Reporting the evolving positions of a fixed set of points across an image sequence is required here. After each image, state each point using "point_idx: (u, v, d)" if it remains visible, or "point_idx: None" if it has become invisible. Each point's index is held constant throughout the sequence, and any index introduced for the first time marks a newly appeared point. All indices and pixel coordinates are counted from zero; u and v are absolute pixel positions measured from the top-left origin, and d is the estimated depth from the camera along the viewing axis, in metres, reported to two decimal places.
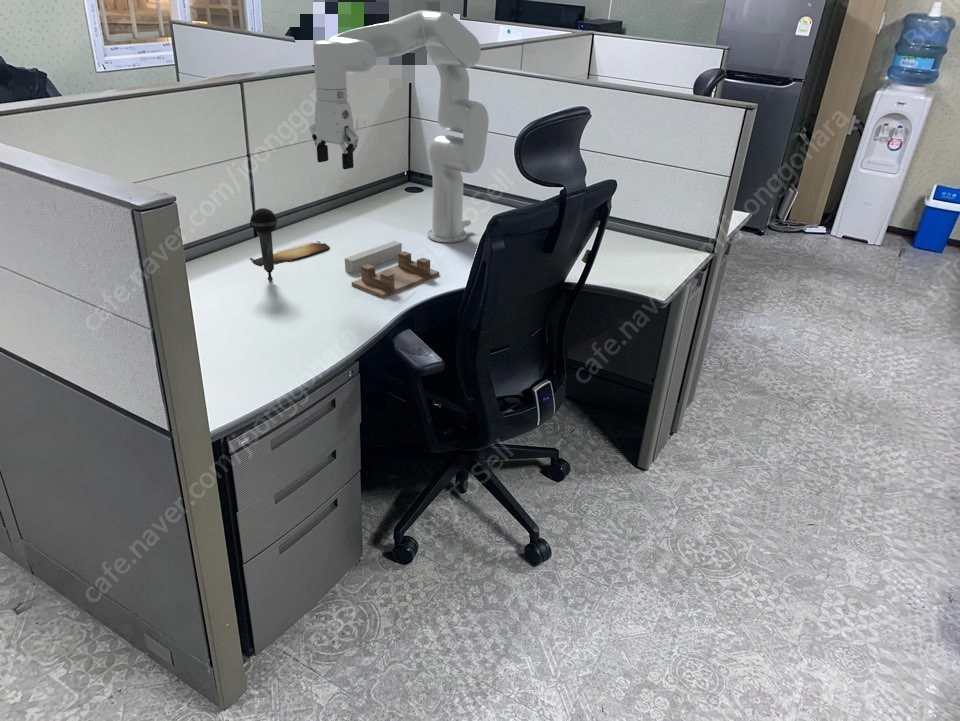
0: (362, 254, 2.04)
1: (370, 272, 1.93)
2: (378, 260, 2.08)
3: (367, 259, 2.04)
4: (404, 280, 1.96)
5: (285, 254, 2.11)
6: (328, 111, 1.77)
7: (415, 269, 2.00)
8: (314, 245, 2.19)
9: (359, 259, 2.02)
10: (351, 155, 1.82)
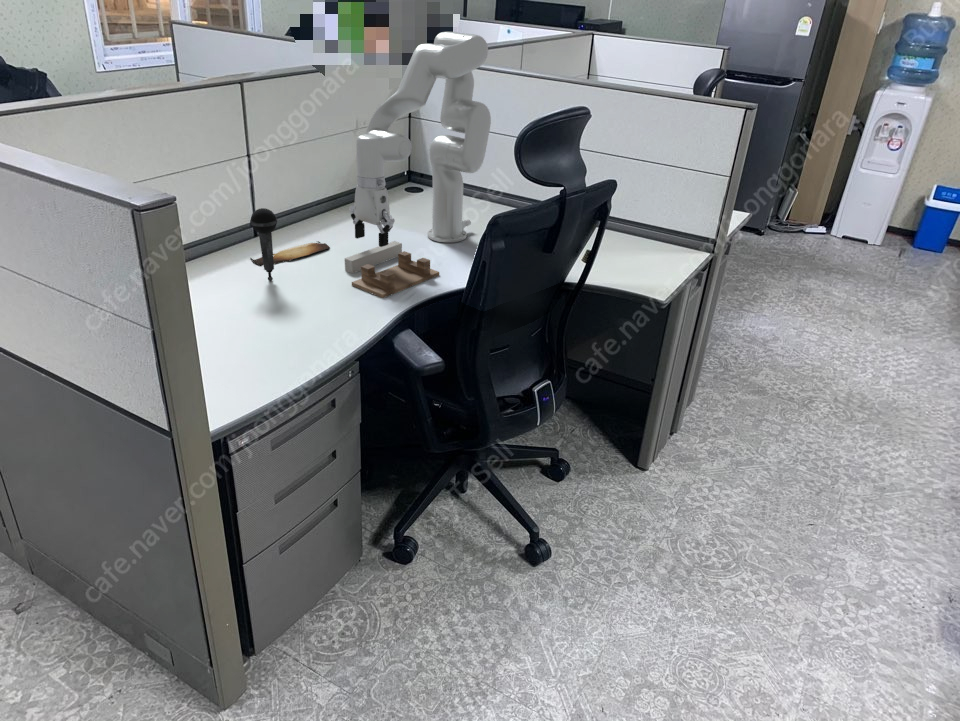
0: (362, 254, 2.04)
1: (370, 272, 1.93)
2: (378, 260, 2.08)
3: (367, 259, 2.04)
4: (404, 280, 1.96)
5: (285, 254, 2.11)
6: (367, 196, 1.97)
7: (415, 269, 2.00)
8: (314, 245, 2.19)
9: (359, 259, 2.02)
10: (387, 234, 2.01)
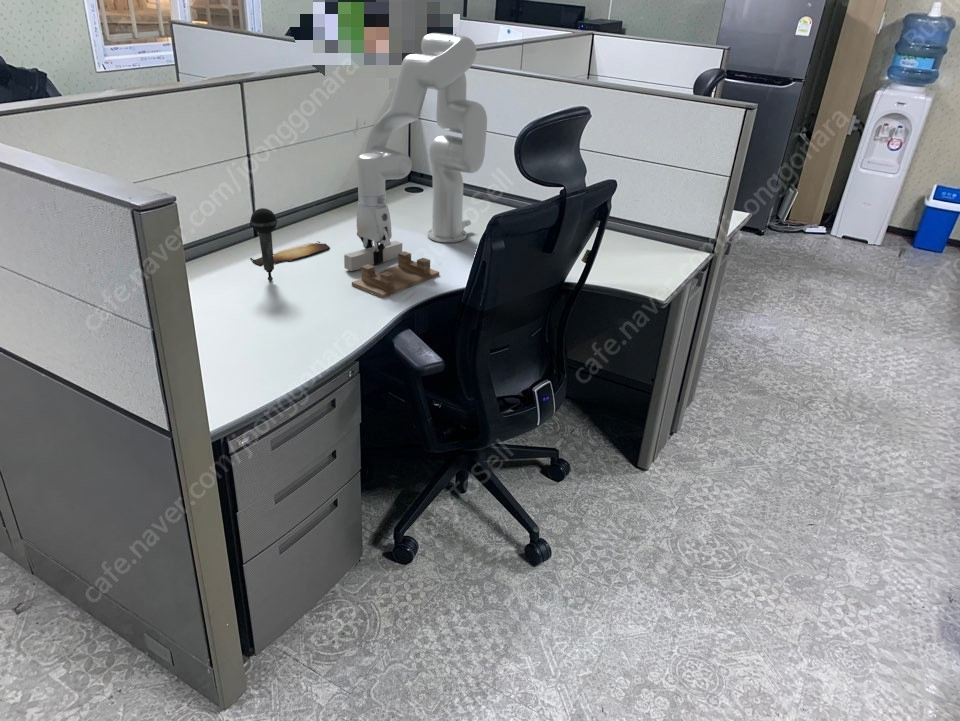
0: (362, 251, 2.04)
1: (370, 272, 1.93)
2: None
3: (367, 256, 2.04)
4: (404, 280, 1.96)
5: (285, 254, 2.11)
6: (369, 214, 2.00)
7: (415, 269, 2.00)
8: (314, 245, 2.19)
9: (359, 256, 2.02)
10: (381, 252, 2.06)
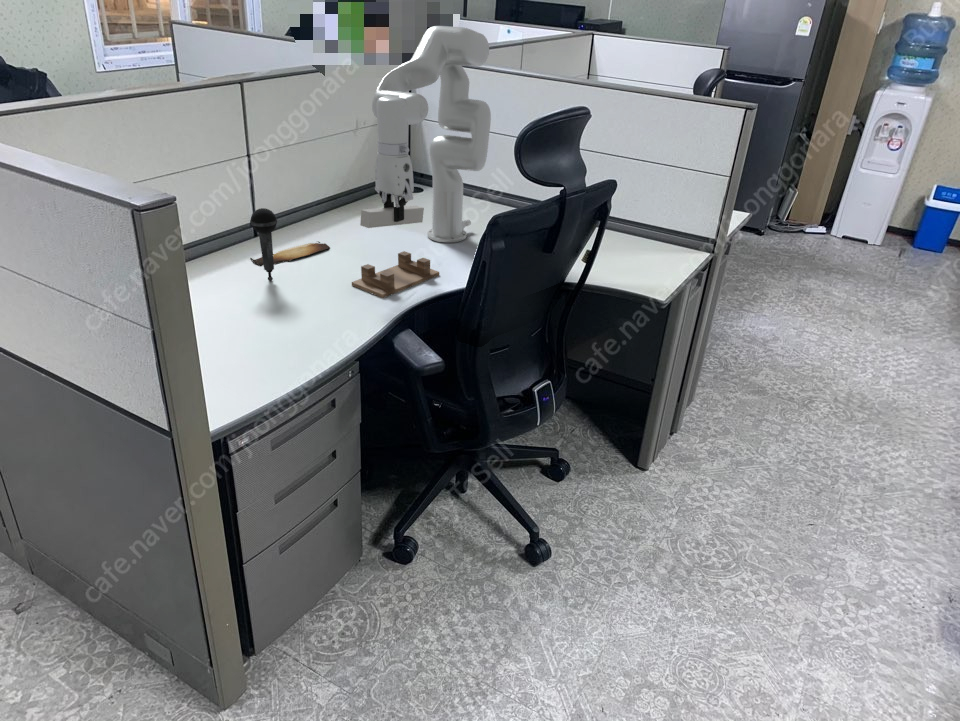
0: (381, 209, 1.86)
1: (370, 272, 1.93)
2: None
3: (386, 215, 1.85)
4: (404, 280, 1.96)
5: (285, 254, 2.11)
6: (389, 164, 1.81)
7: (415, 269, 2.00)
8: (314, 245, 2.19)
9: (377, 213, 1.83)
10: (402, 208, 1.88)
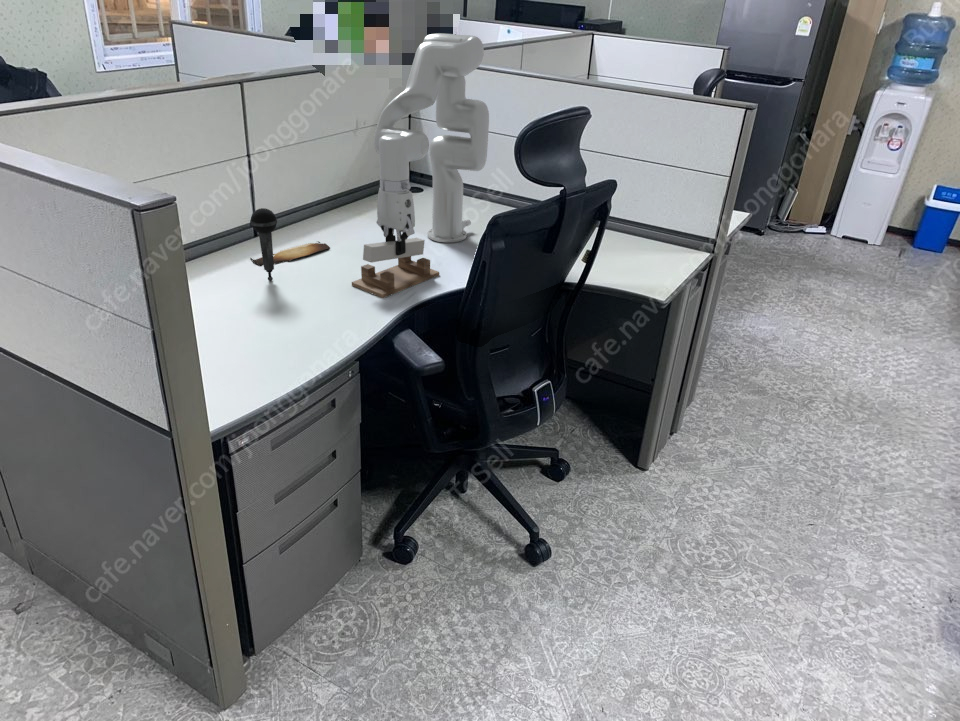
0: (383, 243, 1.90)
1: (370, 272, 1.93)
2: None
3: (388, 249, 1.89)
4: (404, 280, 1.96)
5: (285, 254, 2.11)
6: (391, 200, 1.85)
7: (415, 269, 2.00)
8: (314, 245, 2.19)
9: (380, 248, 1.87)
10: (404, 242, 1.91)
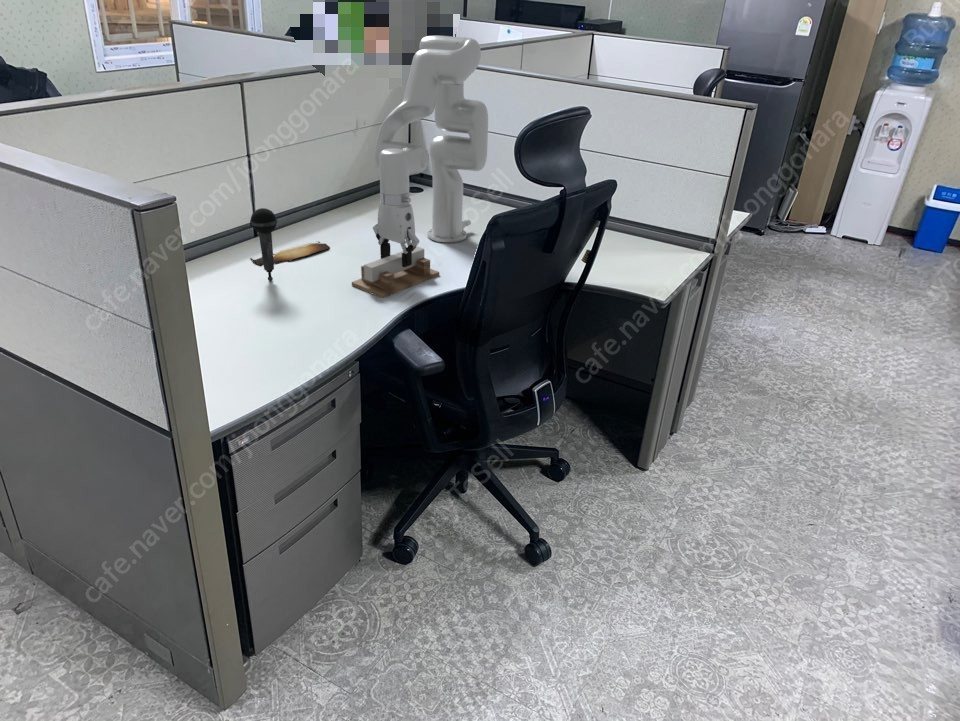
0: (382, 260, 1.92)
1: None
2: (399, 267, 1.95)
3: (388, 265, 1.92)
4: (404, 280, 1.96)
5: (285, 254, 2.11)
6: (392, 214, 1.86)
7: (415, 269, 2.00)
8: (314, 245, 2.19)
9: (379, 266, 1.89)
10: (410, 254, 1.92)
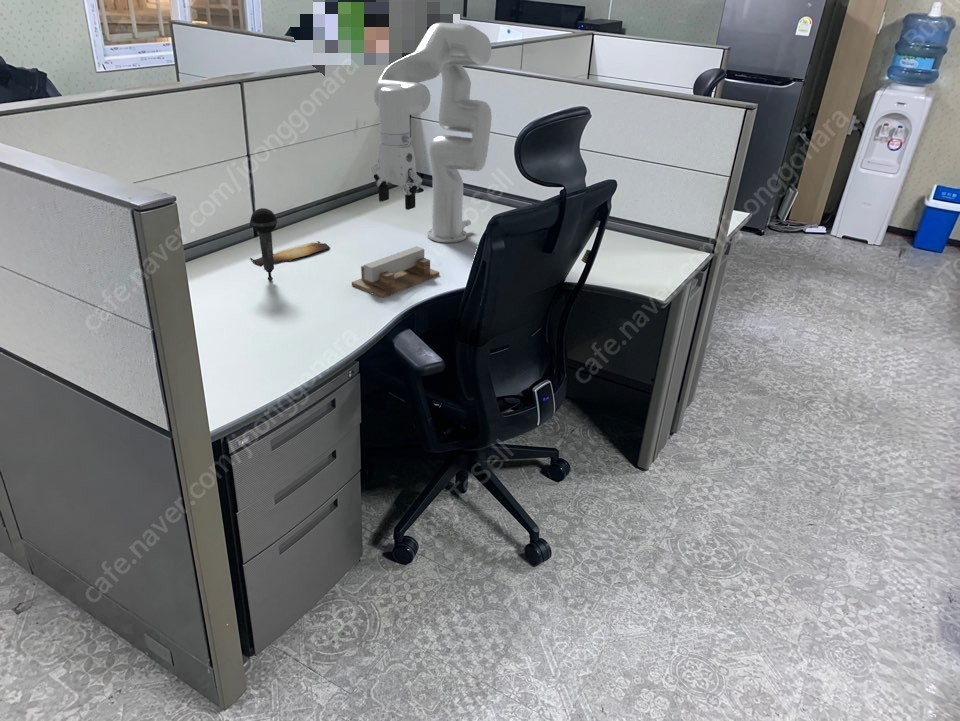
0: (382, 260, 1.92)
1: None
2: (399, 267, 1.95)
3: (388, 265, 1.92)
4: (404, 280, 1.96)
5: (285, 254, 2.11)
6: (392, 154, 1.81)
7: (415, 269, 2.00)
8: (314, 245, 2.19)
9: (379, 266, 1.89)
10: (414, 196, 1.86)
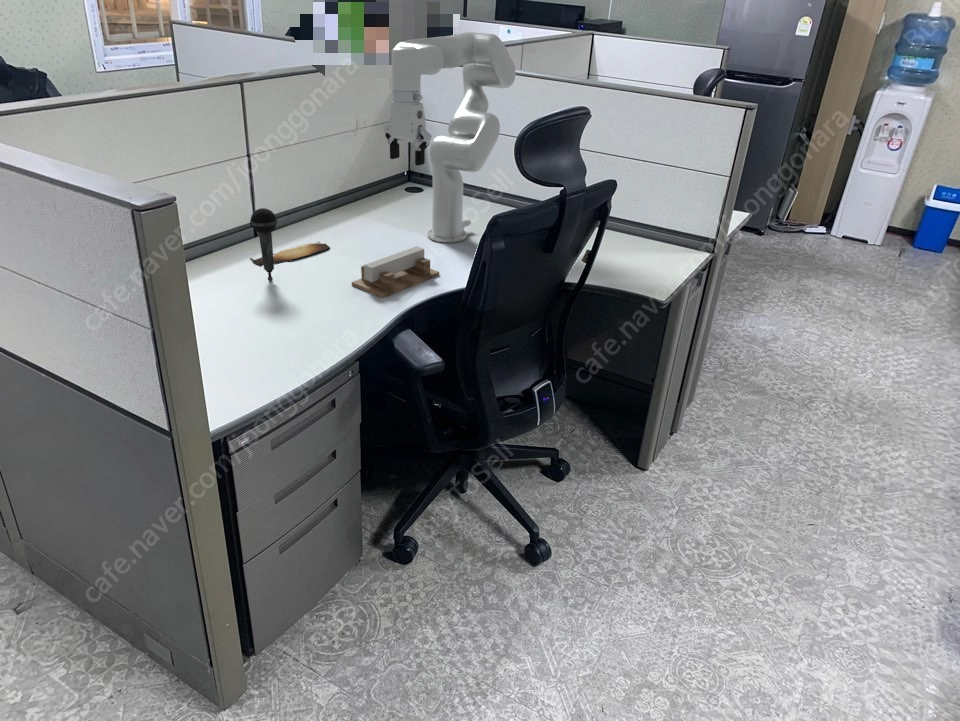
0: (382, 260, 1.92)
1: None
2: (399, 267, 1.95)
3: (388, 265, 1.92)
4: (404, 280, 1.96)
5: (285, 254, 2.11)
6: (403, 111, 1.91)
7: (415, 269, 2.00)
8: (314, 245, 2.19)
9: (379, 266, 1.89)
10: (423, 152, 1.96)
